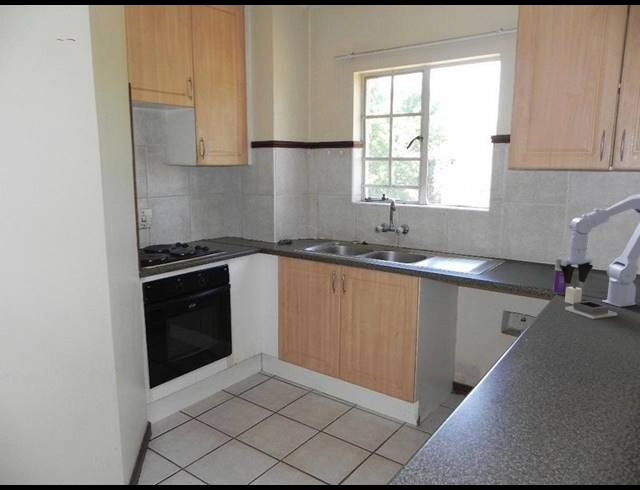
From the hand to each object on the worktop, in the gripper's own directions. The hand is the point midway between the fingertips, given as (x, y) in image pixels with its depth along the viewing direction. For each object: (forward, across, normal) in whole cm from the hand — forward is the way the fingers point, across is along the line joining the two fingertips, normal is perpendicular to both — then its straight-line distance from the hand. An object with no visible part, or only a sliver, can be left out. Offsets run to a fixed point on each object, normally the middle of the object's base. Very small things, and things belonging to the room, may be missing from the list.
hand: (574, 282), depth 186 cm
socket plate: (+8, +5, +12) cm, 15 cm away
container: (+8, -7, -13) cm, 17 cm away
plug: (+8, 0, 0) cm, 8 cm away
